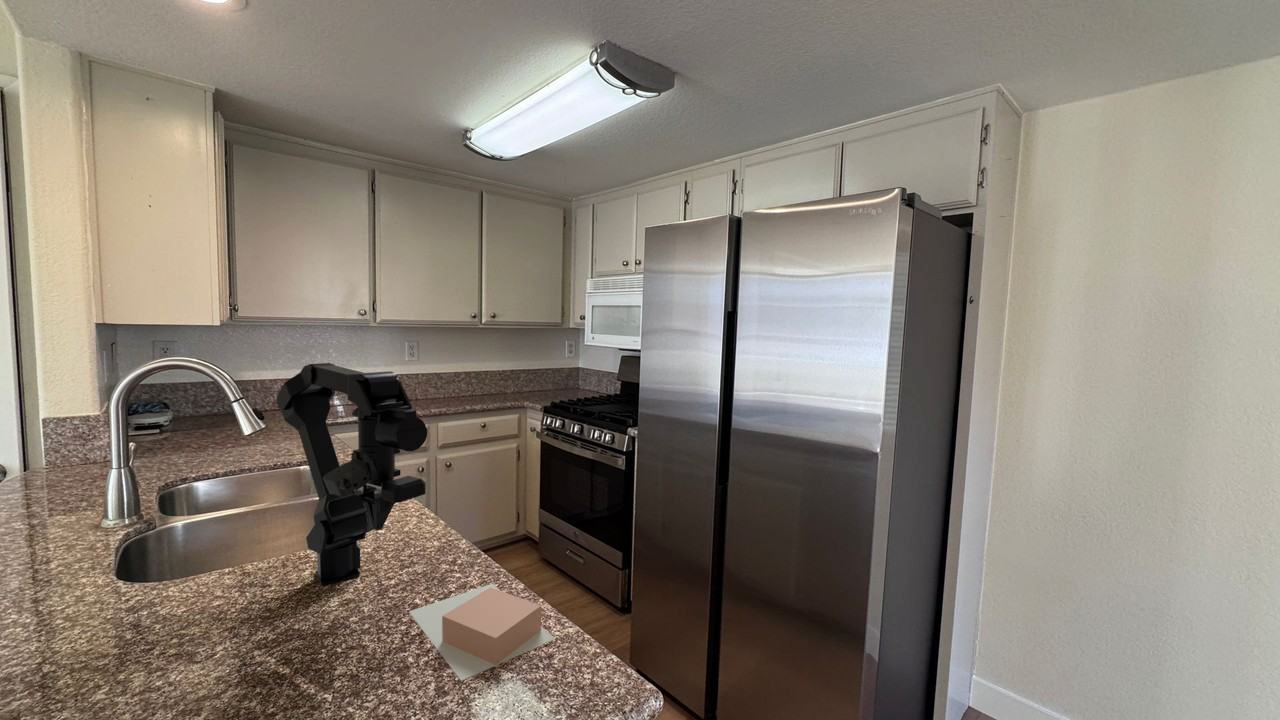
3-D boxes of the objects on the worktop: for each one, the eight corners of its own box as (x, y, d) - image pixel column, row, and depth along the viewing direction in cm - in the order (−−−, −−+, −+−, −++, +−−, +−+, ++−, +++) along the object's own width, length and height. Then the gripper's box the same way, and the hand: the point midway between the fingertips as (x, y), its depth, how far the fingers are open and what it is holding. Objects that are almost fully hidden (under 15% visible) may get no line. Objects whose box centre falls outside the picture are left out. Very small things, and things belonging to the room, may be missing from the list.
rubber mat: (461, 684, 71) (461, 680, 71) (408, 614, 87) (408, 611, 87) (555, 641, 81) (555, 638, 80) (492, 586, 97) (492, 583, 97)
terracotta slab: (442, 615, 79) (495, 638, 74) (490, 587, 88) (541, 605, 82) (442, 641, 79) (495, 665, 74) (490, 610, 88) (541, 629, 83)
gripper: (298, 445, 89) (301, 534, 90) (366, 460, 80) (368, 559, 81) (360, 433, 99) (362, 514, 100) (427, 446, 90) (428, 534, 91)
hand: (378, 529), depth 92 cm, fingers closed
